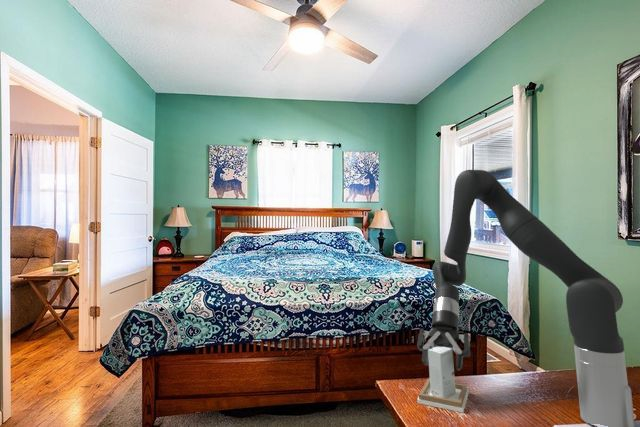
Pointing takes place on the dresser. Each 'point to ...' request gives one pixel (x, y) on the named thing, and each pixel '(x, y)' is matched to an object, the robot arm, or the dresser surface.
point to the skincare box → (441, 371)
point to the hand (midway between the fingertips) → (441, 367)
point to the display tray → (450, 403)
